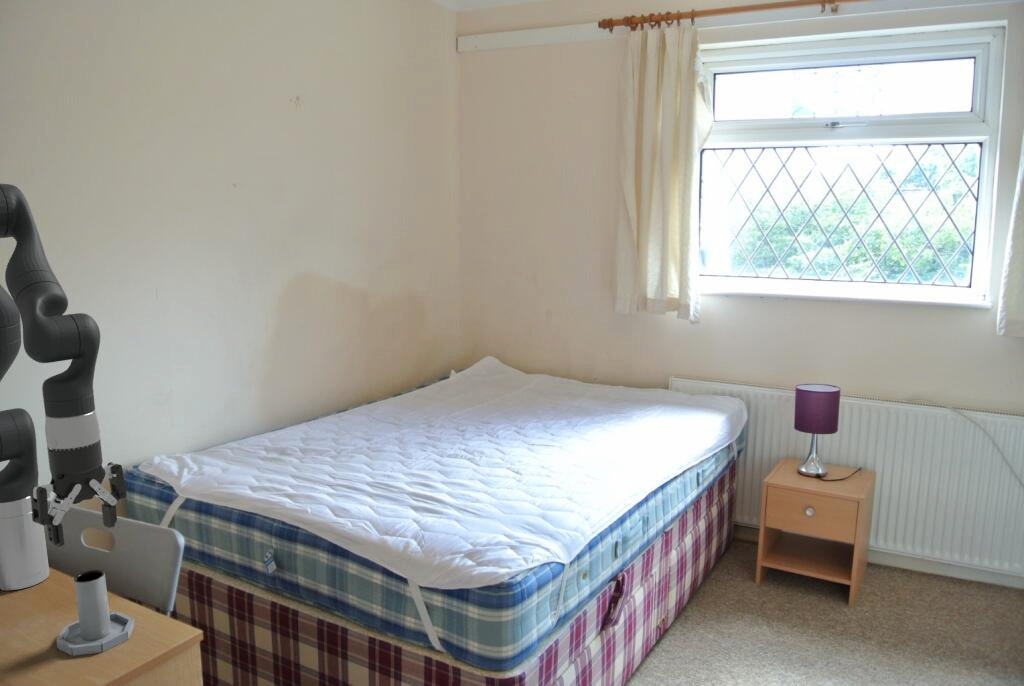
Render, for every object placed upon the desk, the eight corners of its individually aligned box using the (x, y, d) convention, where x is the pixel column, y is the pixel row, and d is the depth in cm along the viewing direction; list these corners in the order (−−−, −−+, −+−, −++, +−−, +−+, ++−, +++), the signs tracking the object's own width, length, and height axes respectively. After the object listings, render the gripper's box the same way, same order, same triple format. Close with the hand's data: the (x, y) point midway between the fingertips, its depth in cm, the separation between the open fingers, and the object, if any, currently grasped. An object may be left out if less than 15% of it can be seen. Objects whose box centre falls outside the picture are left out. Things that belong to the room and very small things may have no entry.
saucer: (46, 642, 136) (45, 634, 136) (108, 614, 145) (107, 607, 145) (83, 661, 131) (82, 653, 130) (145, 631, 140) (144, 623, 139)
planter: (116, 627, 140) (110, 569, 138) (101, 641, 136) (94, 582, 134) (91, 626, 140) (84, 569, 139) (75, 640, 136) (67, 581, 134)
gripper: (102, 425, 140) (112, 516, 143) (14, 447, 128) (27, 546, 131) (129, 432, 136) (138, 525, 139) (41, 455, 124) (53, 557, 127)
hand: (84, 535), depth 135 cm, fingers open, 8 cm apart
